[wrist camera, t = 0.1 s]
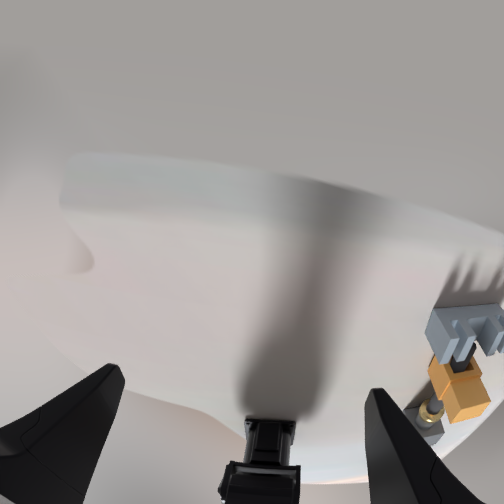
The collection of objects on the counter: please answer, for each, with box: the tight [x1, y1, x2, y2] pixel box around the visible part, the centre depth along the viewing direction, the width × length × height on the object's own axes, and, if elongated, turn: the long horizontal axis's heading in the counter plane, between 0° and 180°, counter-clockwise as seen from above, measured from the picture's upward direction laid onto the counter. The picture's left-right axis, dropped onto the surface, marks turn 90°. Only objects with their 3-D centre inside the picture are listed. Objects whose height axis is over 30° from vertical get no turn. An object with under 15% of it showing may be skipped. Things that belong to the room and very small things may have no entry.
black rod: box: [426, 342, 476, 415], centre depth 24 cm, size 14×2×2 cm, turn 3°
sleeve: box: [428, 354, 491, 424], centre depth 21 cm, size 3×4×8 cm
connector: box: [403, 407, 445, 445], centre depth 27 cm, size 4×5×5 cm
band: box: [419, 398, 445, 423], centre depth 26 cm, size 1×3×3 cm, turn 93°
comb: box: [425, 303, 504, 365], centre depth 21 cm, size 3×9×4 cm, turn 93°
